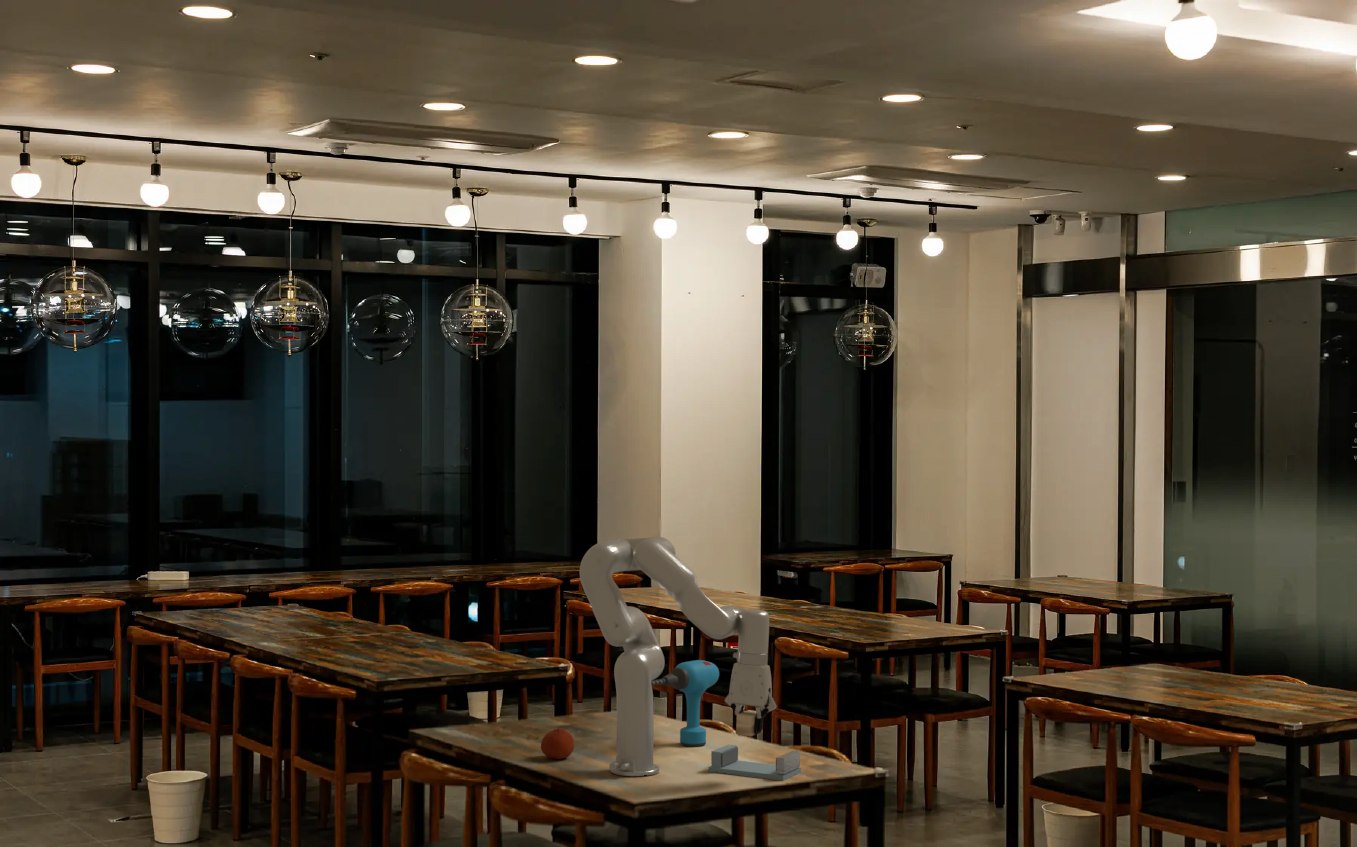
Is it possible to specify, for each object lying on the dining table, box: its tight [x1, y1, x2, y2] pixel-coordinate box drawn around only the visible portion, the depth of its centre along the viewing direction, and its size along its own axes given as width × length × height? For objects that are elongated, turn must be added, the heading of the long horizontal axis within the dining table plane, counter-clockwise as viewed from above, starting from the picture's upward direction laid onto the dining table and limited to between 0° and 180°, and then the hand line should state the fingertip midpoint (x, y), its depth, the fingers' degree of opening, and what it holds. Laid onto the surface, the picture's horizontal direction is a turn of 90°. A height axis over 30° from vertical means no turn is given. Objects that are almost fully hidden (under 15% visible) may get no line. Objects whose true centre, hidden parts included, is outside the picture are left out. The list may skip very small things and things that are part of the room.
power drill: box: [651, 659, 720, 747], centre depth 440 cm, size 28×9×23 cm, turn 139°
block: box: [735, 709, 757, 737], centre depth 398 cm, size 7×4×5 cm, turn 152°
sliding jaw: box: [775, 750, 801, 774], centre depth 405 cm, size 10×2×4 cm, turn 152°
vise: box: [708, 744, 802, 782], centre depth 409 cm, size 11×21×5 cm, turn 62°
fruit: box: [540, 728, 575, 760], centre depth 424 cm, size 9×9×8 cm
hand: (749, 731), depth 399 cm, fingers closed on block, 4 cm apart
